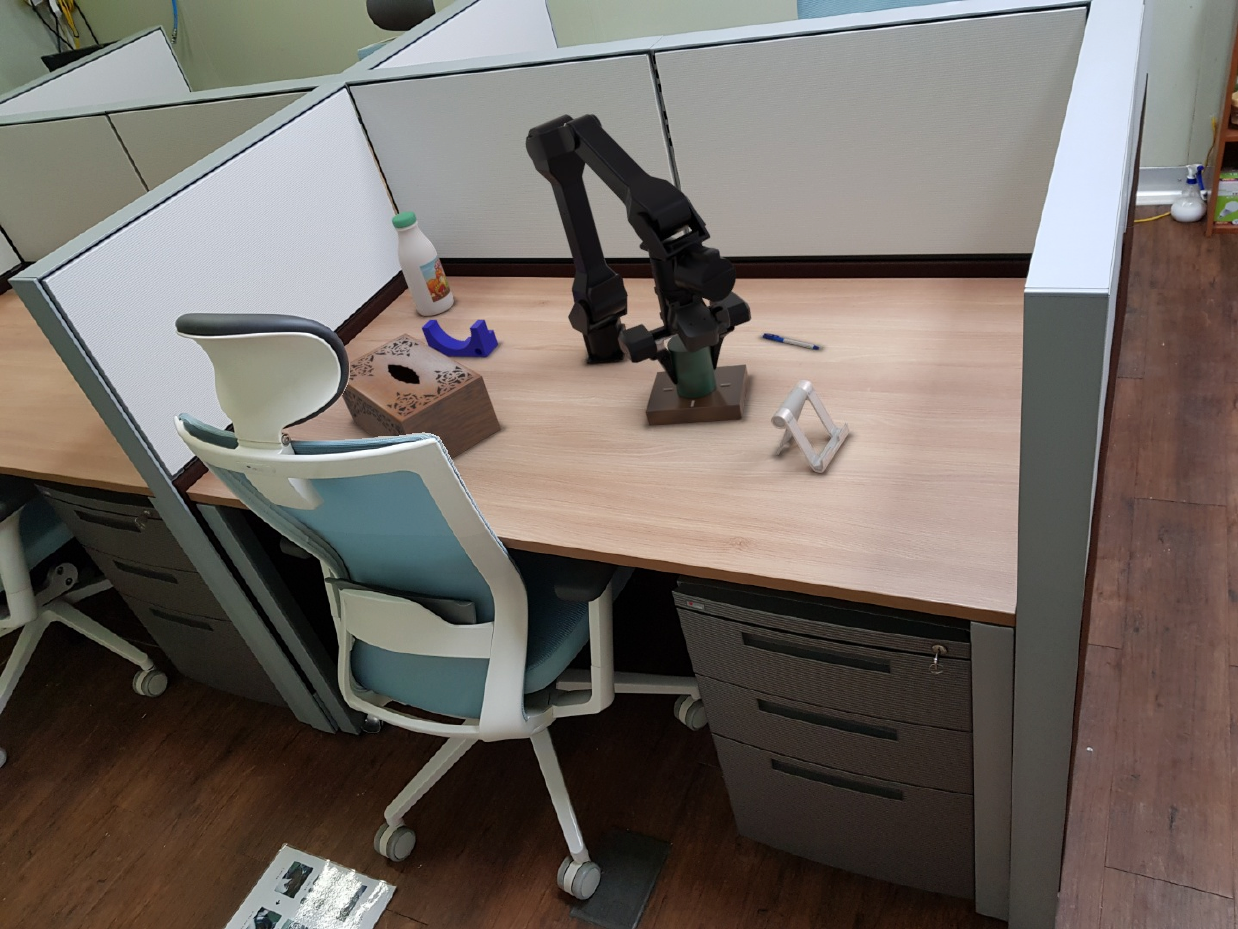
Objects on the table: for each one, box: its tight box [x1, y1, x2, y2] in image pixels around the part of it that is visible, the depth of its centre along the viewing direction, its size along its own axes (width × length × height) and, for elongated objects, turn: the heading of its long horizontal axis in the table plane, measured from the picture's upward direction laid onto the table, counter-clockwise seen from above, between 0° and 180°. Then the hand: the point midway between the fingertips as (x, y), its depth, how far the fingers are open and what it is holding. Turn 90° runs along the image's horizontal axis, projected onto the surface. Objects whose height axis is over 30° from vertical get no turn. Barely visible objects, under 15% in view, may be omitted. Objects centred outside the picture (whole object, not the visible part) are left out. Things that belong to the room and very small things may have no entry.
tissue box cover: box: [341, 332, 502, 459], centre depth 150 cm, size 26×14×10 cm, turn 39°
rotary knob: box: [666, 335, 716, 398], centre depth 137 cm, size 6×6×8 cm
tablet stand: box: [770, 379, 850, 474], centre depth 123 cm, size 9×8×8 cm
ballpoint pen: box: [762, 332, 820, 350], centre depth 148 cm, size 10×1×1 cm, turn 49°
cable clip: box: [421, 319, 499, 358], centre depth 170 cm, size 12×4×6 cm, turn 68°
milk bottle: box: [391, 210, 455, 317], centre depth 184 cm, size 8×8×20 cm
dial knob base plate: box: [645, 364, 749, 426], centre depth 140 cm, size 14×11×3 cm
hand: (694, 376), depth 138 cm, fingers closed on rotary knob, 6 cm apart
